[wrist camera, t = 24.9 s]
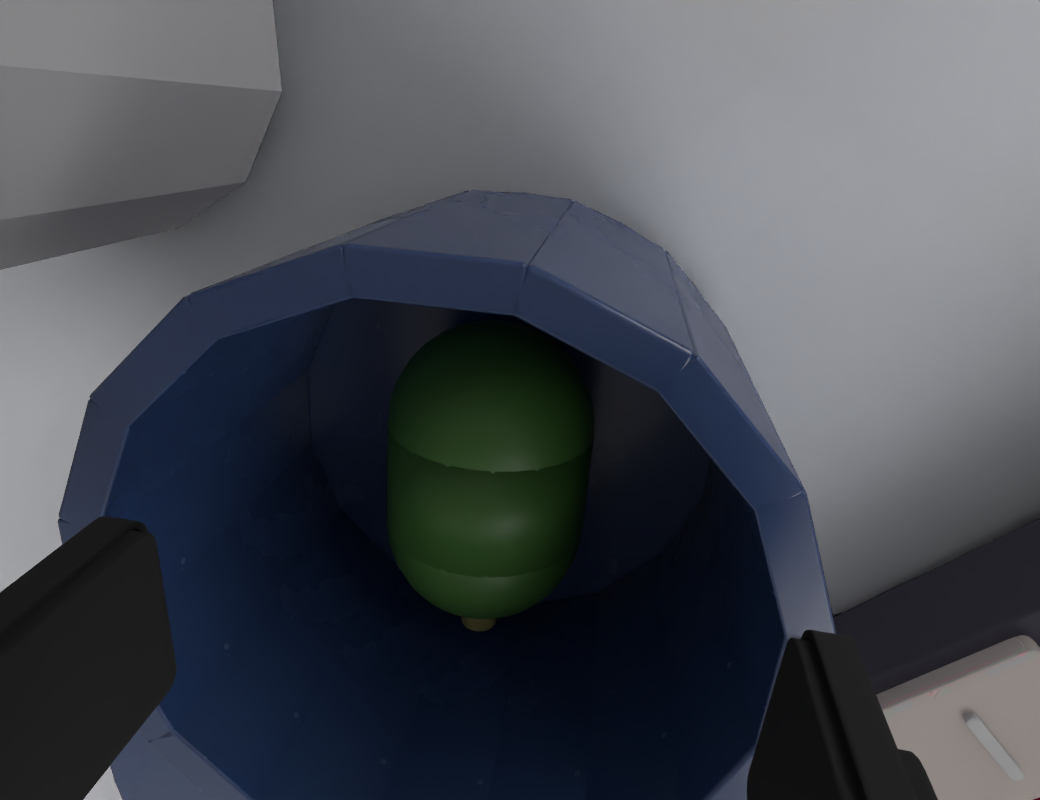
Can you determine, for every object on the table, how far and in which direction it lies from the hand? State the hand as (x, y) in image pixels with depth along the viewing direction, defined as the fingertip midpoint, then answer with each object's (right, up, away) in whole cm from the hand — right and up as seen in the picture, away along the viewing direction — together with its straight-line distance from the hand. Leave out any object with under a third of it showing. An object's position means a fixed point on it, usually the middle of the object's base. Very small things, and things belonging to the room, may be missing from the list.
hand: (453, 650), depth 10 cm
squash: (+1, +3, +10) cm, 11 cm away
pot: (+1, +3, +11) cm, 11 cm away
